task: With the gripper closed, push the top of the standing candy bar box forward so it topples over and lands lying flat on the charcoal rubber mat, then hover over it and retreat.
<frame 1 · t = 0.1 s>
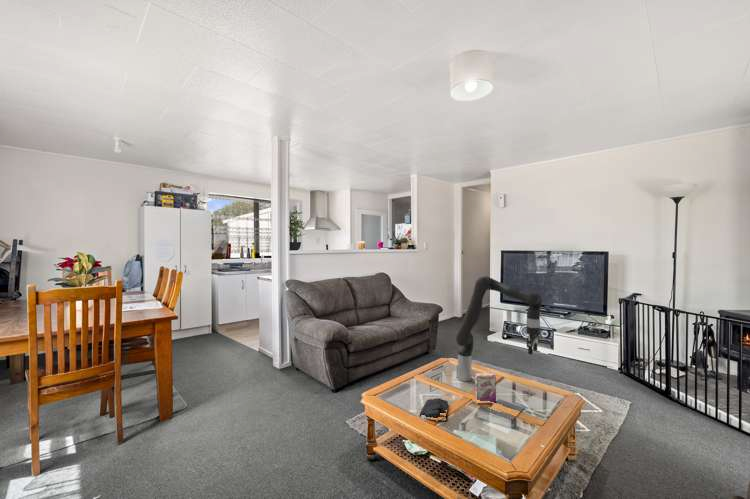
hand: (532, 352, 196), 29 cm above the table, fingers open, 8 cm apart
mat: (505, 409, 186), on the table
candy bar box: (486, 402, 194), on the table, touching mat
dark slate chunk: (435, 411, 184), on the table
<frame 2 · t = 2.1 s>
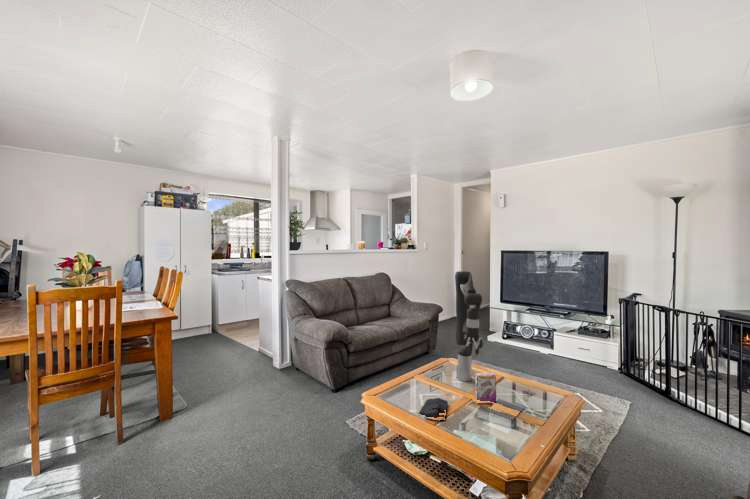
hand: (472, 353, 199), 27 cm above the table, fingers open, 5 cm apart
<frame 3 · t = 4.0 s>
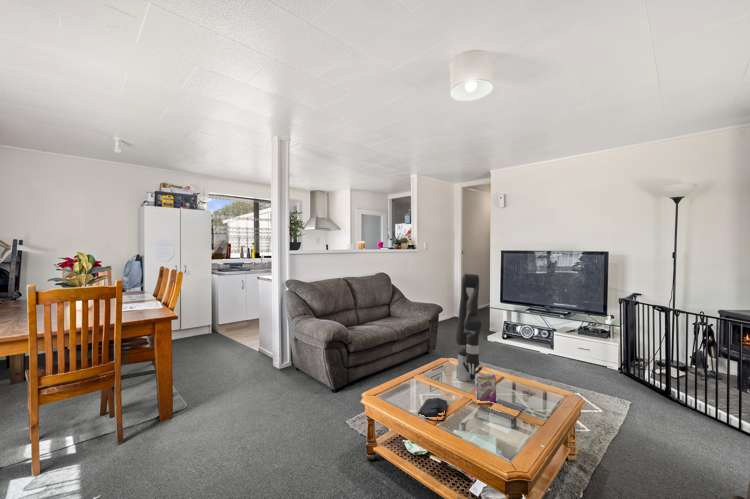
hand: (472, 379, 199), 11 cm above the table, fingers closed
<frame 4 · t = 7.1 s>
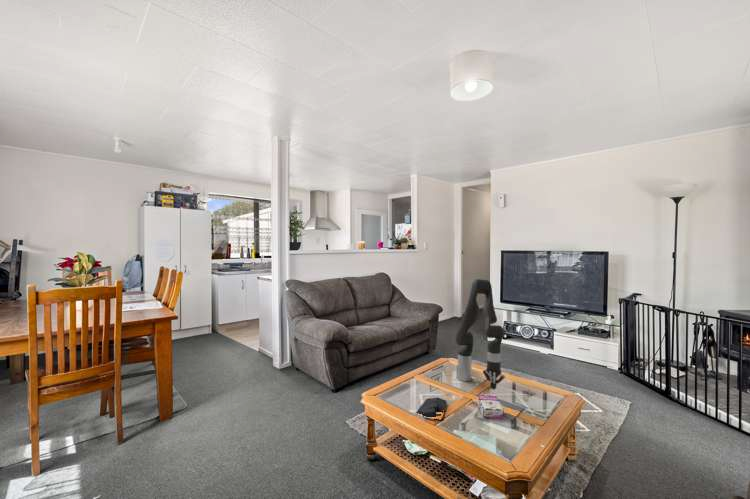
hand: (493, 388, 190), 10 cm above the table, fingers closed
candy bar box: (486, 399, 192), point 3 cm above the table, touching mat
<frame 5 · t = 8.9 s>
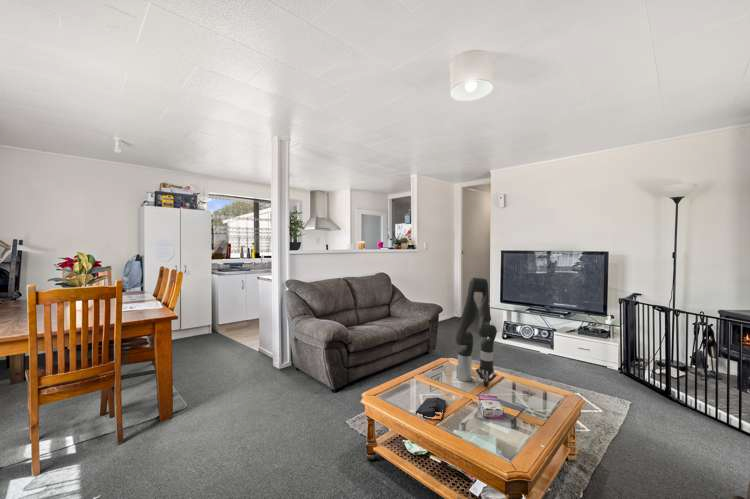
hand: (486, 386, 194), 9 cm above the table, fingers closed
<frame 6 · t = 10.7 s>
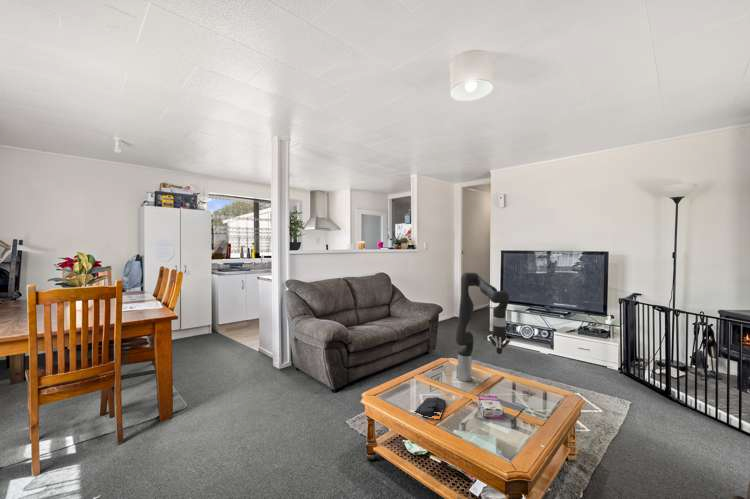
hand: (499, 353, 193), 29 cm above the table, fingers closed
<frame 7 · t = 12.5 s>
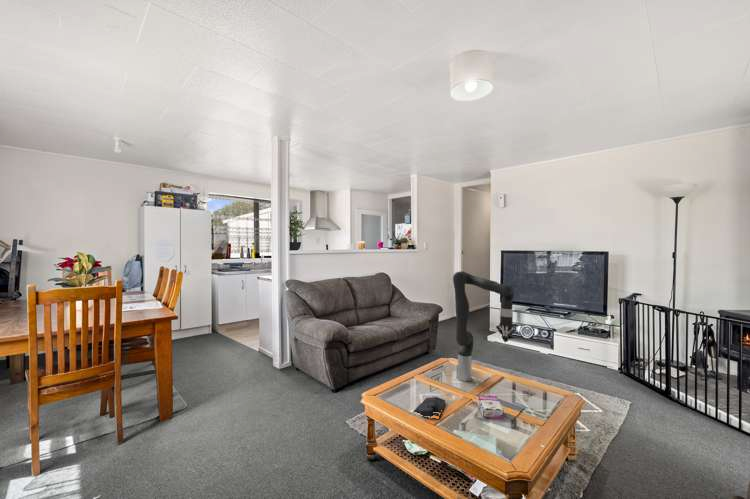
hand: (505, 341, 211), 31 cm above the table, fingers closed
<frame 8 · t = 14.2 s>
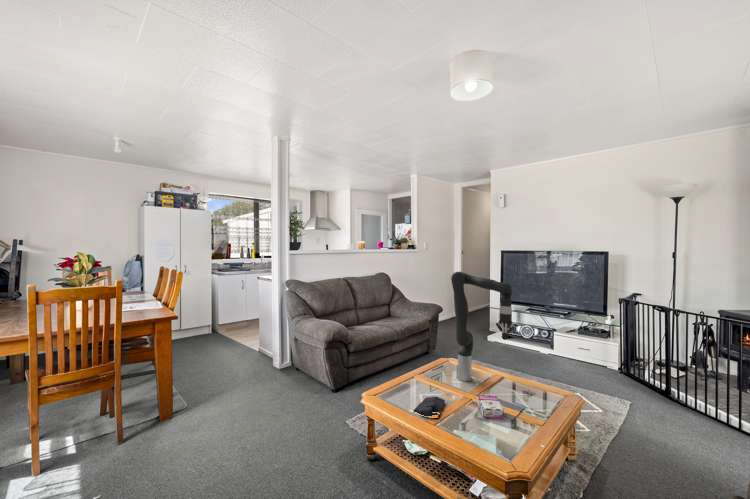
hand: (505, 338, 215), 32 cm above the table, fingers closed
at the end: candy bar box tilted 90°; candy bar box 10.6 cm from the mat (horizontally); candy bar box point 2.8 cm above the table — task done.
